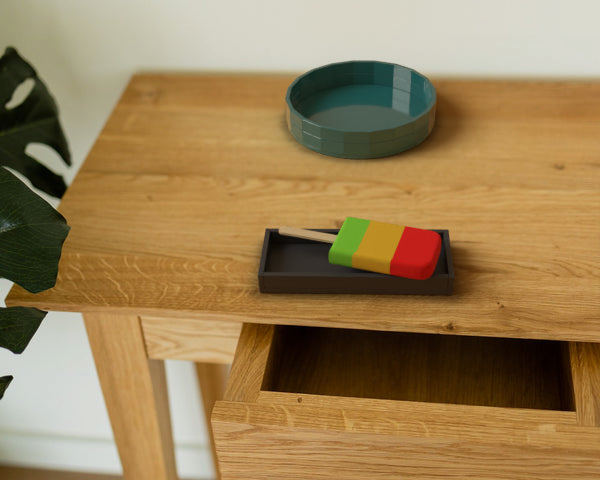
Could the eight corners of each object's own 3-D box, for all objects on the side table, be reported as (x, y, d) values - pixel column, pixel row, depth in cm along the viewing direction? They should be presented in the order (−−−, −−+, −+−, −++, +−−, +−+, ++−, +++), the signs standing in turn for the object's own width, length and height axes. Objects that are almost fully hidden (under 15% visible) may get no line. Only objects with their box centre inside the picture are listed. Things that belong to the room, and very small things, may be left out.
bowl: (432, 86, 97) (434, 60, 95) (436, 160, 84) (438, 132, 82) (295, 85, 99) (294, 59, 97) (279, 157, 86) (277, 130, 84)
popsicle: (430, 284, 66) (432, 268, 65) (269, 254, 70) (268, 238, 69) (443, 246, 70) (445, 230, 69) (289, 220, 74) (288, 204, 73)
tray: (446, 246, 73) (448, 229, 72) (452, 295, 68) (454, 277, 67) (267, 245, 75) (265, 228, 73) (259, 292, 69) (257, 275, 68)
